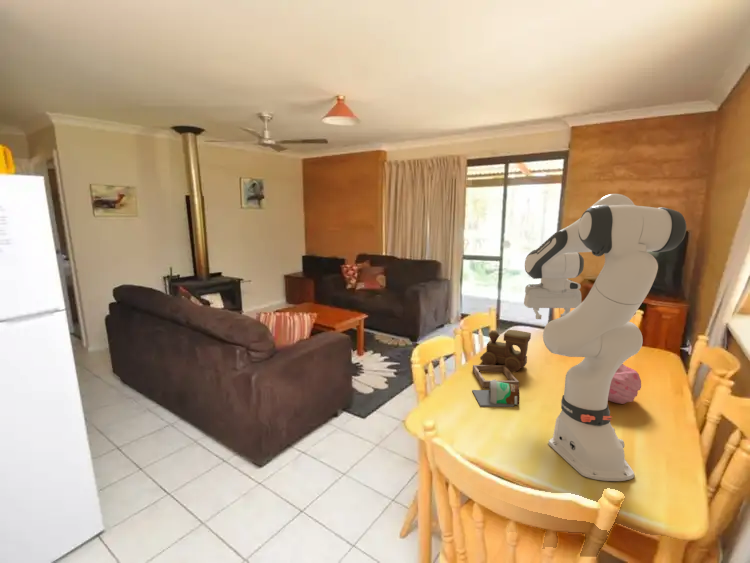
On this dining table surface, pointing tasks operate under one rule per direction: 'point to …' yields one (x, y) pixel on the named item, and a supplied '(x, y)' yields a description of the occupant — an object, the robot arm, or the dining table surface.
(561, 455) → the robot arm
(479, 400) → the mat
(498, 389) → the food container
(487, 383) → the brown wooden frame
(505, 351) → the wooden toy train
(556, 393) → the dining table surface
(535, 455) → the dining table surface
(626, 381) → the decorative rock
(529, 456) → the dining table surface
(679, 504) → the dining table surface
